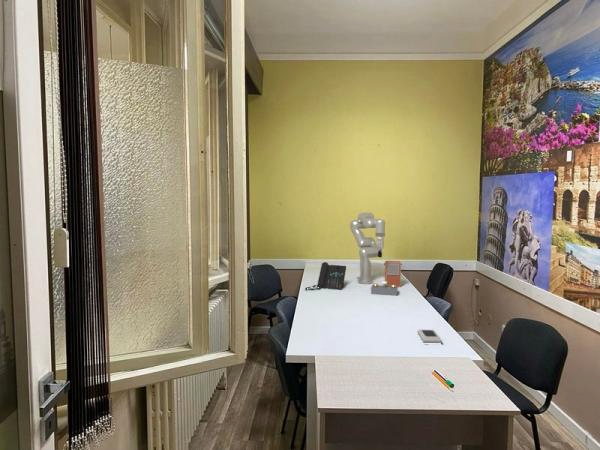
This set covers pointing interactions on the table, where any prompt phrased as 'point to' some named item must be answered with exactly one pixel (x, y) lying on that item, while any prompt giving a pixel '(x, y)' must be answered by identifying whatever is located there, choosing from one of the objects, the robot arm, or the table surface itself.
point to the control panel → (393, 273)
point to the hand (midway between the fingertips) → (379, 257)
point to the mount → (384, 290)
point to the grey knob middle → (384, 283)
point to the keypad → (429, 336)
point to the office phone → (331, 277)
